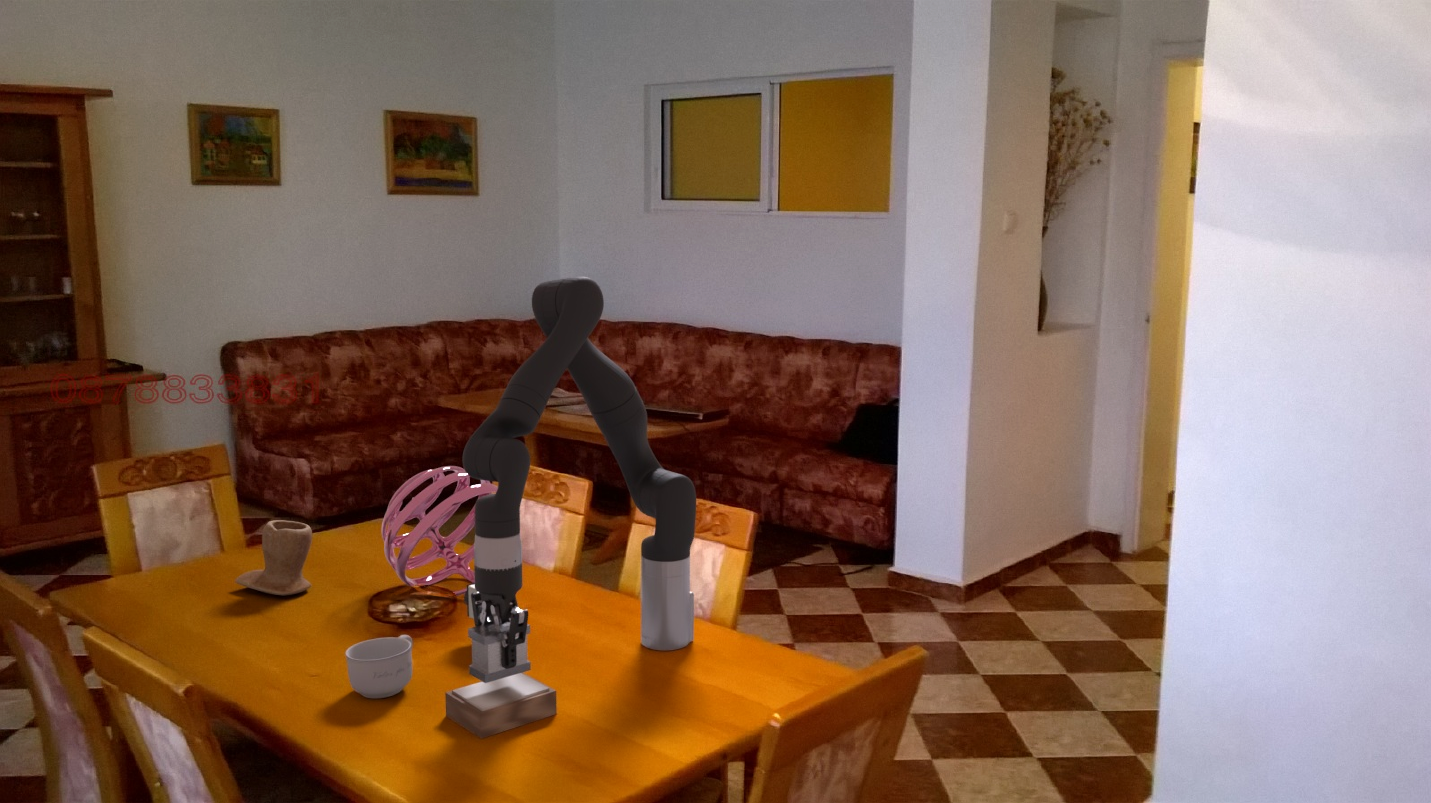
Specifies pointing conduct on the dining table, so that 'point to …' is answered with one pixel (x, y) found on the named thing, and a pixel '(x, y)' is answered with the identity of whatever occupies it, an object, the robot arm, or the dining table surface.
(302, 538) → the brown top hat
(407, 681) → the teacup
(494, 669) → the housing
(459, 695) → the stand
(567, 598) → the dining table surface
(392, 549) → the spiral basket
